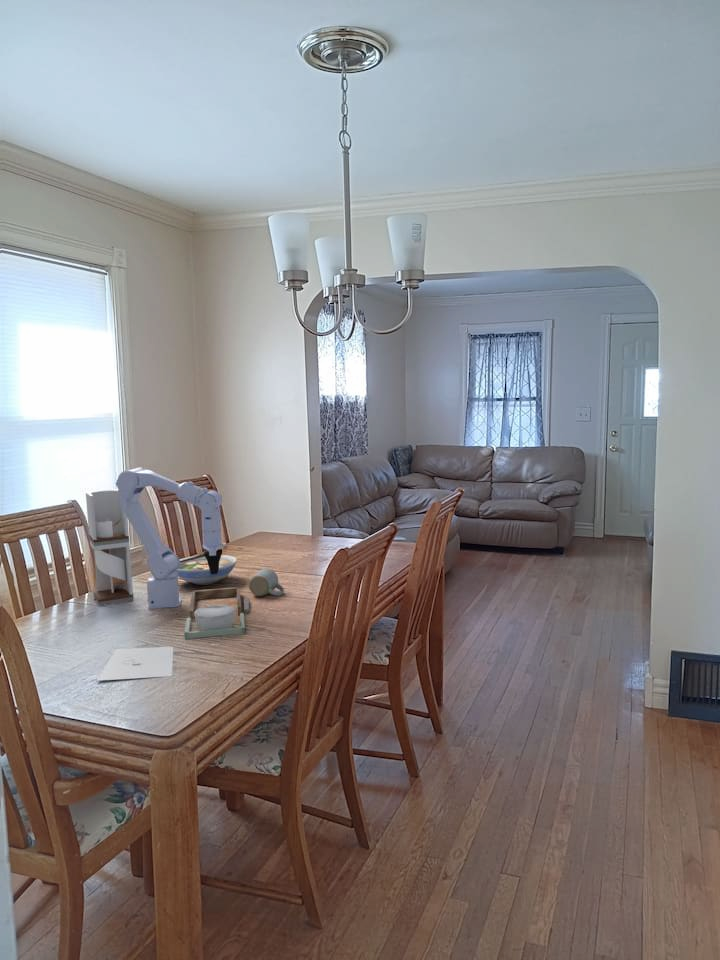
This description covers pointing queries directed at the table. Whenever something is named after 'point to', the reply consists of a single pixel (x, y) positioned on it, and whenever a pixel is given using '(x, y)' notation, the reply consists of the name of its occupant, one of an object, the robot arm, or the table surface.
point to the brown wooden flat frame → (213, 594)
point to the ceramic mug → (265, 583)
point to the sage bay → (214, 632)
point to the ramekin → (214, 617)
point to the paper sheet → (139, 663)
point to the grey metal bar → (246, 605)
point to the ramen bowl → (204, 569)
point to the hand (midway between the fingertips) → (214, 573)
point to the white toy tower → (109, 547)
